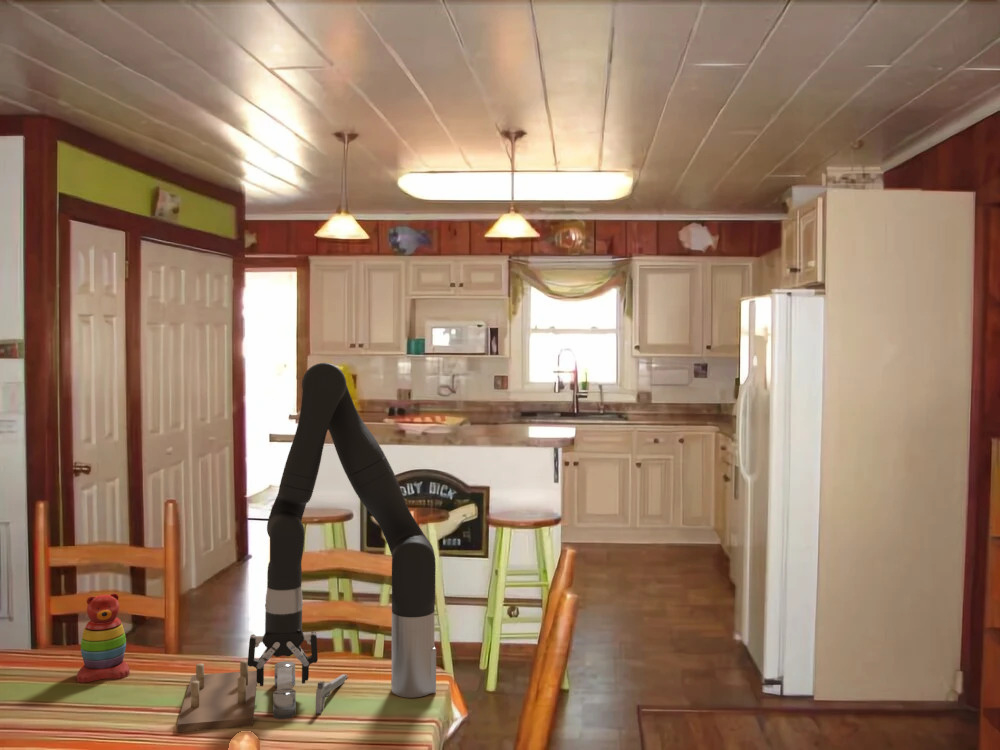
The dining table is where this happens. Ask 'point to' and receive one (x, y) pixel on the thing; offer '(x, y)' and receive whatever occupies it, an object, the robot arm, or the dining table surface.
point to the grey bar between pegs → (284, 691)
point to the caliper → (327, 691)
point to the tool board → (219, 700)
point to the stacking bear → (103, 641)
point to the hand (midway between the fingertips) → (282, 683)
